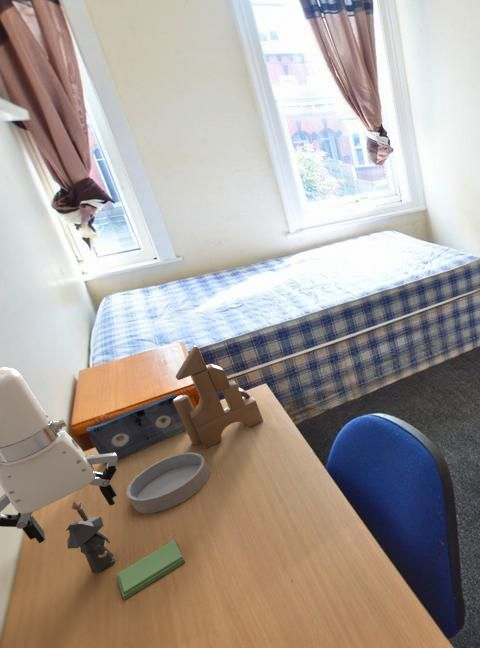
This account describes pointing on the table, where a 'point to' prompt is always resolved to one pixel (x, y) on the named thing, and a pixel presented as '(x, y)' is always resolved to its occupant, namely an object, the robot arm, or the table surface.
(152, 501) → the metal pan
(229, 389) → the wooden toy
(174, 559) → the green rectangular block
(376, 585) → the table surface
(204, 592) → the table surface
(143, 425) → the vhs cassette tape
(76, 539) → the wizard figurine
